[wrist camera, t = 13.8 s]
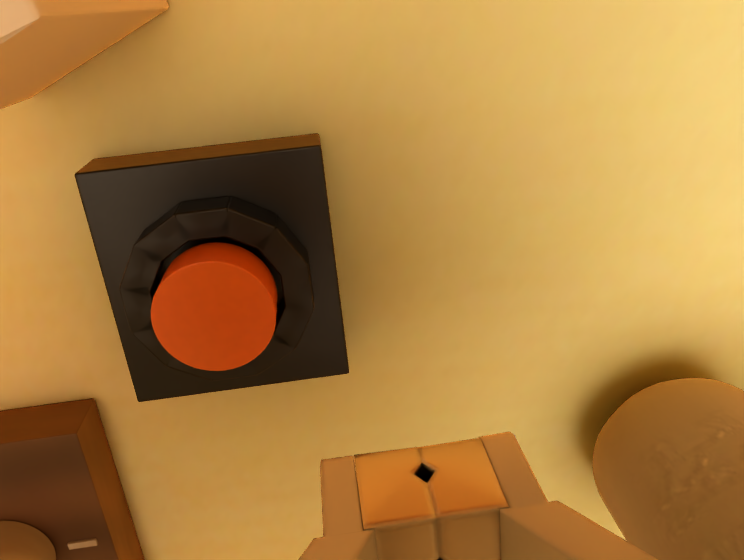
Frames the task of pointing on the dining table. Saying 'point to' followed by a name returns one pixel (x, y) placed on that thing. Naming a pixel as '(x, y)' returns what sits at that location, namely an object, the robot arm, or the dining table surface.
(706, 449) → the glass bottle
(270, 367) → the button base
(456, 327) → the dining table surface
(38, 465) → the dial panel
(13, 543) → the dial knob
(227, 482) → the dining table surface
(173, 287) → the round orange button
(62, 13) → the milk carton
